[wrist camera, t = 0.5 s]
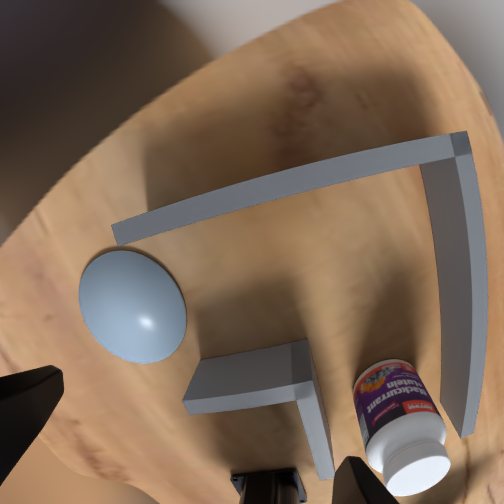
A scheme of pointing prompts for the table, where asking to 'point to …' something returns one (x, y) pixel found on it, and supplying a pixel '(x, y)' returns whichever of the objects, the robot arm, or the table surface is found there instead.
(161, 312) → the pad
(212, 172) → the table surface
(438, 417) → the pill bottle
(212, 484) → the table surface
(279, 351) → the channel
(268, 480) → the robot arm
